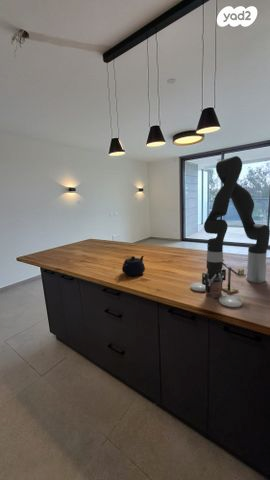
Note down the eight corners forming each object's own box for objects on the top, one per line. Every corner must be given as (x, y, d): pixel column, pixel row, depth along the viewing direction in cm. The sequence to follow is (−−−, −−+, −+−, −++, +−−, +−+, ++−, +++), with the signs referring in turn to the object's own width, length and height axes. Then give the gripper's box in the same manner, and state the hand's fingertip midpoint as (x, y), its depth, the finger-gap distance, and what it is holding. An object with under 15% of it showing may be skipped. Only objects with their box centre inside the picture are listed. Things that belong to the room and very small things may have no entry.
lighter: (220, 293, 110) (220, 275, 108) (222, 296, 107) (223, 277, 105) (204, 294, 110) (205, 275, 108) (207, 297, 107) (207, 278, 105)
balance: (219, 284, 122) (219, 258, 119) (247, 295, 106) (248, 265, 104) (212, 286, 120) (213, 259, 117) (240, 297, 104) (241, 267, 101)
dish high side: (200, 283, 124) (200, 281, 123) (213, 289, 115) (213, 287, 115) (186, 287, 119) (186, 284, 119) (199, 293, 111) (199, 291, 110)
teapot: (133, 281, 132) (132, 262, 130) (114, 277, 141) (113, 259, 139) (153, 269, 153) (152, 253, 150) (135, 266, 161) (134, 251, 159)
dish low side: (228, 296, 106) (228, 293, 106) (247, 304, 97) (247, 301, 97) (214, 301, 102) (214, 298, 101) (232, 310, 93) (232, 307, 93)
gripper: (218, 255, 111) (218, 285, 114) (198, 260, 105) (197, 291, 108) (231, 259, 105) (229, 290, 108) (209, 263, 99) (208, 296, 101)
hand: (213, 290), depth 108 cm, fingers closed on lighter, 7 cm apart
